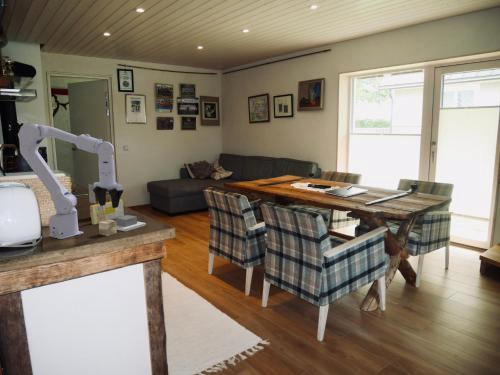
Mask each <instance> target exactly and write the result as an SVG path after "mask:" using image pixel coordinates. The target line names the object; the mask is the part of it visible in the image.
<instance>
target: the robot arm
mask: <svg viewBox="0 0 500 375" xmlns="http://www.w3.org/2000/svg"><path fill="white" fill-rule="evenodd" d="M17 136H18V141H19V151H20V152H19V153H20V154H21V156H22V157H23V159H24V160H25V161H26V163H27V164H28V165H29V167H30V168H31V170H32V171H33V173H35V175H36V176H37V178H38V179H39V180H40V182H41V184H43V186H44V188H46V190H47V191H48V192H49V194H50V195H49V196H50V199H51V201H52V202H53V206H54V209H55V214H52V215H51V216H49V219H48V224H49V225H48V226H49V237H52V238H55V239H58V240H64V239H67V238H70V237H75V236H78V235H82V234H84V231H82V230H81V231H80V230H79V221H78V210H77V208H76V206H77V203H78V198H77V197H76V196H75V195H74V194H72V193H70V192H69V190H68V189H67V188H66V187H64V186H63V185H62V183H61V182H60V180H59V178H57V176H56V174H55V173H54V172H53V171H52V169H51V168H50V166H49V164H48V163H47V162H46V161H45V159H44V158H43V157H42V155H41V153H40V152H39V148H40V145H41V143H42V141H43V140H44V139H47V138H48V139H49V138H54V139H58V140H61V141H64V142H68V143H71V144H74V145H75V146H76V147H77V149H79V150H83V151H85V152H88V153H92V154H97V155H98V178H99V179H98V180H99V181H97V182H93V183H94V187H95V188H96V189H93V192H94V193H95V194H96V196H97V199H98V201H99V204H100V206H104V205H105V204H106V192H107V189H113V190H110V191H108V192H109V194H110V197H111V201H112V207H113V208H117V207H118V205H119V201H120V200H121V197H122V195H123V193H124V189H123V184H119V183H118V182H116V171H115V161H114V154H113V153H114V150H115V149H114V147H115V146H114V145H113V144H112V143H111V142H109V141H107V140H104V141H103V139H102V138H95V137H92V136H91V135H90V134H89V133H86V134H83V133H82V134H80V135H76V134H73V133H70V132H68V131H64V130H62V129H59V128H56V127H54V126H50V125H42V124H39V123H25V124H23V125H21V127H20V128H19V131H18V133H17Z"/></svg>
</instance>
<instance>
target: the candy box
mask: <svg viewBox="0 0 500 375" xmlns="http://www.w3.org/2000/svg"><path fill="white" fill-rule="evenodd" d="M90 209H91V217H90V218H91V224H92V225H96V224H97V225H99V222H101V221H105V220H113V221H115V220H116V218H118V217H122V216H125V212H124V209H125V208H124V200H123V199H120V201H119V205H118V207H117V208H113V207H112V202H107V203H106V204H105V205H104V206H100V204H98V205H93V206H90V205H89V210H90Z"/></svg>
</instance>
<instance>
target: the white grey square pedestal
mask: <svg viewBox="0 0 500 375" xmlns="http://www.w3.org/2000/svg"><path fill="white" fill-rule="evenodd" d="M115 221H116V230H117V231H121V232H129V231H131V230H135V229H138V228H143V227H146V226H147V223H146V222H141V221H138V216H137V215H136V216H135V215H128V214H126V215H124V216H122V217H118V218H116V219H115ZM145 225H146V226H145Z"/></svg>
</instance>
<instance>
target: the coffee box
mask: <svg viewBox="0 0 500 375" xmlns="http://www.w3.org/2000/svg"><path fill="white" fill-rule="evenodd" d="M94 183H95V182H93V183H88V197H89V198H88V200H89V207H90V206H93V205H98V204H99V201H98V199H97V196H96V194H95V193H94V192H93V189H96V188H95V187H94ZM110 190H113V189H107V192H106V203H107V202H112V201H111V197H110V194H109V192H108V191H110ZM89 215H90V217H89V218H91V209H90V208H89Z"/></svg>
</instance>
